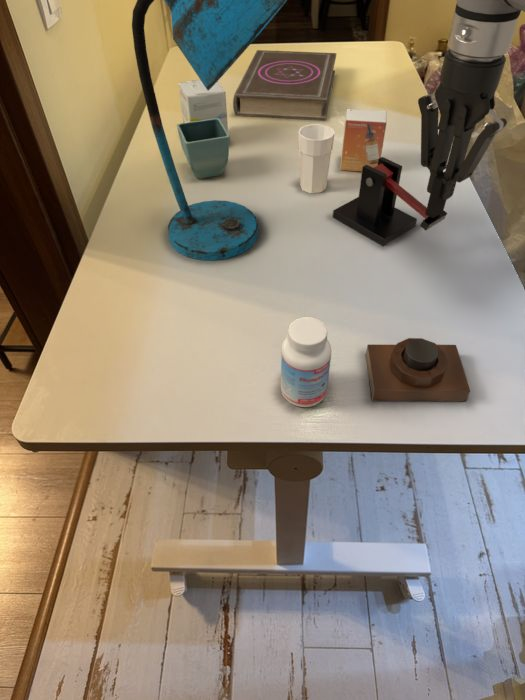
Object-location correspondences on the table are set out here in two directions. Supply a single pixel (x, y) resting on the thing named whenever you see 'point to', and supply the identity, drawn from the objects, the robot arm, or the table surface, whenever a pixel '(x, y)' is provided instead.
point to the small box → (362, 139)
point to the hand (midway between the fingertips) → (434, 213)
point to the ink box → (202, 102)
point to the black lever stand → (376, 206)
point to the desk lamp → (210, 65)
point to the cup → (315, 156)
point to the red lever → (410, 199)
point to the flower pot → (205, 146)
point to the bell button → (420, 355)
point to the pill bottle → (305, 362)
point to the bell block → (415, 375)
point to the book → (286, 85)
